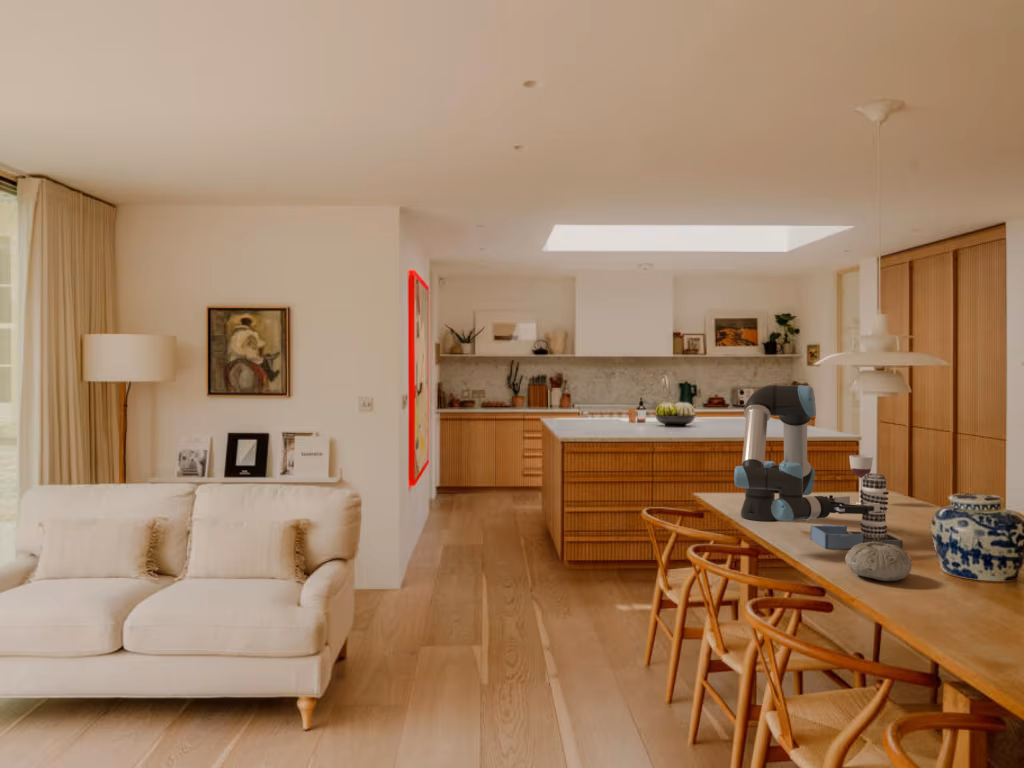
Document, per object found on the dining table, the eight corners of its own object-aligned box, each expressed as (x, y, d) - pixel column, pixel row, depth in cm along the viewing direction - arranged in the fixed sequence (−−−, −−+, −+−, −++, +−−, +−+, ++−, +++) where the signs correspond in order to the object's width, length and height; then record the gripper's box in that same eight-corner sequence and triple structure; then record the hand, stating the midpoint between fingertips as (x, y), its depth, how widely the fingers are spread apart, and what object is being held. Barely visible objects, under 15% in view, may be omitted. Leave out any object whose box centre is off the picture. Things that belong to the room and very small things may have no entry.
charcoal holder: (862, 549, 251) (863, 540, 250) (845, 539, 264) (845, 531, 264) (902, 549, 250) (902, 540, 250) (883, 539, 264) (883, 531, 264)
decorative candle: (876, 540, 263) (877, 472, 262) (893, 546, 253) (895, 476, 253) (853, 541, 261) (854, 472, 260) (870, 548, 252) (871, 476, 251)
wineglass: (849, 501, 336) (849, 454, 336) (872, 503, 332) (872, 455, 332) (848, 504, 329) (849, 456, 328) (872, 506, 324) (872, 457, 324)
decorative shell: (892, 590, 205) (893, 555, 205) (833, 575, 220) (833, 542, 219) (922, 579, 216) (923, 546, 216) (864, 565, 230) (864, 534, 230)
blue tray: (827, 550, 249) (828, 535, 249) (808, 537, 267) (808, 524, 266) (865, 550, 249) (865, 536, 248) (843, 538, 266) (843, 524, 266)
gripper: (789, 511, 260) (837, 507, 267) (841, 526, 236) (892, 521, 243) (789, 490, 260) (837, 487, 266) (841, 503, 236) (892, 499, 243)
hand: (863, 503), depth 255 cm, fingers open, 13 cm apart
